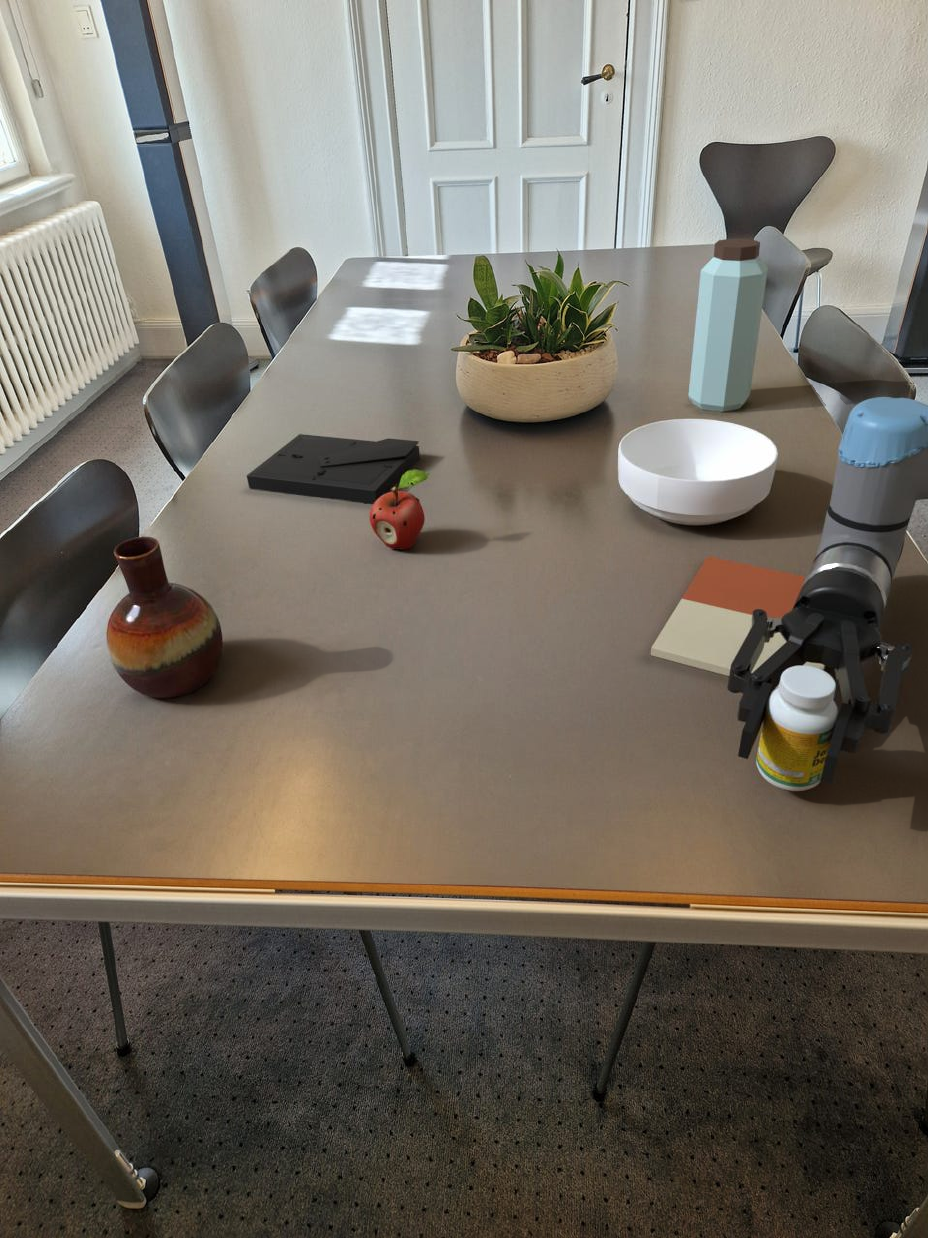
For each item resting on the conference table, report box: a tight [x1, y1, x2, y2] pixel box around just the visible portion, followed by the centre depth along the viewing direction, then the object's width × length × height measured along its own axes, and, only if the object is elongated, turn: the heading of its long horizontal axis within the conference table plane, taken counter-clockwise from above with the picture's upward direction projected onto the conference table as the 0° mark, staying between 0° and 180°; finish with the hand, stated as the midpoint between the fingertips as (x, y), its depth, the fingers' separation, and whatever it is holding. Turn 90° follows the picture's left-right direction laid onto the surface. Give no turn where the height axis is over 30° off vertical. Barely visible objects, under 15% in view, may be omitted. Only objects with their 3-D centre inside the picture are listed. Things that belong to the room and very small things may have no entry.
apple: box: [368, 468, 430, 550], centre depth 106 cm, size 8×7×10 cm
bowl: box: [617, 418, 779, 526], centre depth 110 cm, size 20×20×8 cm
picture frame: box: [246, 433, 421, 505], centre depth 127 cm, size 16×3×21 cm
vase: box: [105, 536, 224, 699], centre depth 84 cm, size 11×11×15 cm
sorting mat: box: [650, 555, 826, 690], centre depth 90 cm, size 16×20×1 cm
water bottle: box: [688, 237, 769, 413], centre depth 135 cm, size 10×10×25 cm
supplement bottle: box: [755, 666, 839, 792], centre depth 68 cm, size 5×5×10 cm
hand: (786, 756), depth 64 cm, fingers closed on supplement bottle, 5 cm apart
